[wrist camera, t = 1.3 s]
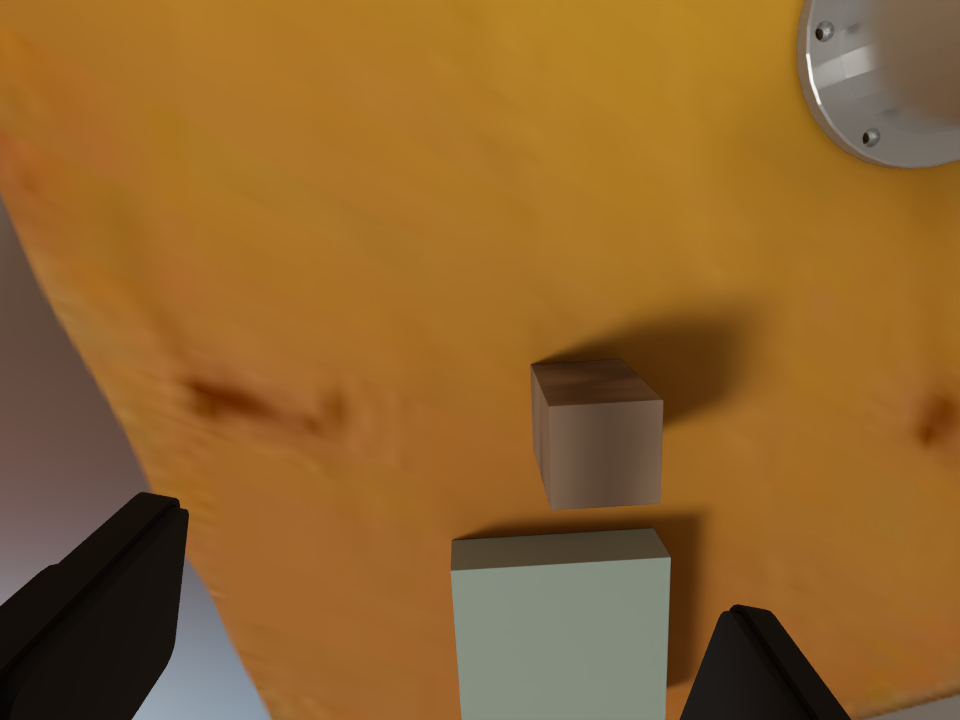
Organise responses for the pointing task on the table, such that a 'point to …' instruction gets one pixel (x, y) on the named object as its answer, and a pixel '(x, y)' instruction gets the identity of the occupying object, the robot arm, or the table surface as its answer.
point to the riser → (562, 626)
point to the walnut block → (596, 434)
